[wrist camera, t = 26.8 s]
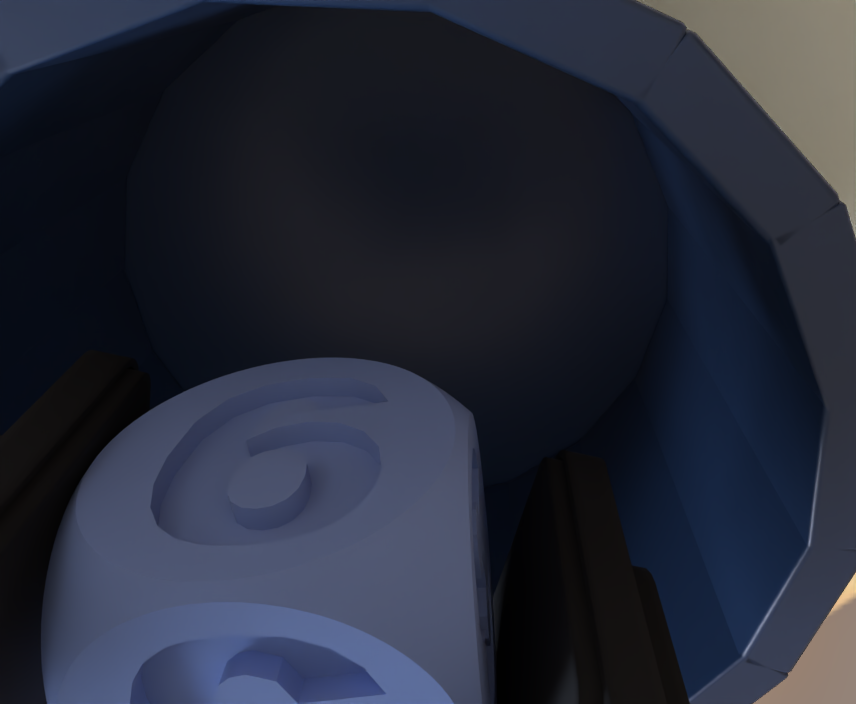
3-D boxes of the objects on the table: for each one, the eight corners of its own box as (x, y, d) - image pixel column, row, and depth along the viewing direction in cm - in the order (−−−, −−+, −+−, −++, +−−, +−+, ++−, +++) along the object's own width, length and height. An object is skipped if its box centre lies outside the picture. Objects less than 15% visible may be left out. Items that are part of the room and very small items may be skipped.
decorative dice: (231, 596, 11) (122, 881, 8) (157, 366, 10) (-29, 603, 6) (494, 584, 11) (503, 879, 7) (468, 340, 9) (463, 579, 6)
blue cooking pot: (714, -314, 12) (1098, -759, 5) (690, 566, 21) (812, 909, 13) (-52, -168, 14) (-691, -324, 6) (220, 595, 22) (90, 917, 15)
